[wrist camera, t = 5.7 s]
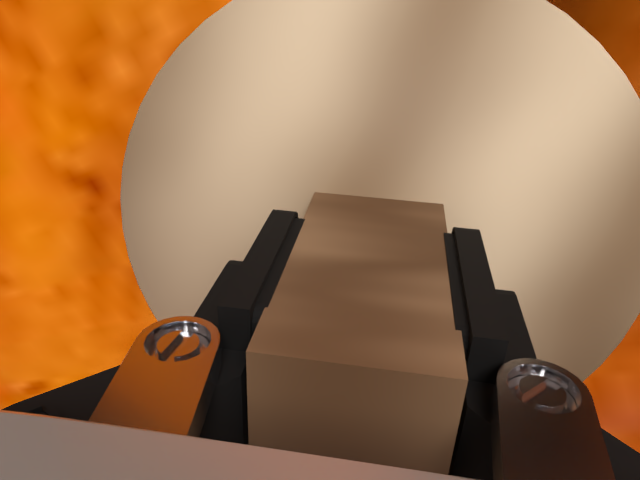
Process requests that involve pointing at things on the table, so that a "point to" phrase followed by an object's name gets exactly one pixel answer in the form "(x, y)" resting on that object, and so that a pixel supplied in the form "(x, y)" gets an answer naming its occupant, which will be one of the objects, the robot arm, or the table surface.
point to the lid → (388, 201)
